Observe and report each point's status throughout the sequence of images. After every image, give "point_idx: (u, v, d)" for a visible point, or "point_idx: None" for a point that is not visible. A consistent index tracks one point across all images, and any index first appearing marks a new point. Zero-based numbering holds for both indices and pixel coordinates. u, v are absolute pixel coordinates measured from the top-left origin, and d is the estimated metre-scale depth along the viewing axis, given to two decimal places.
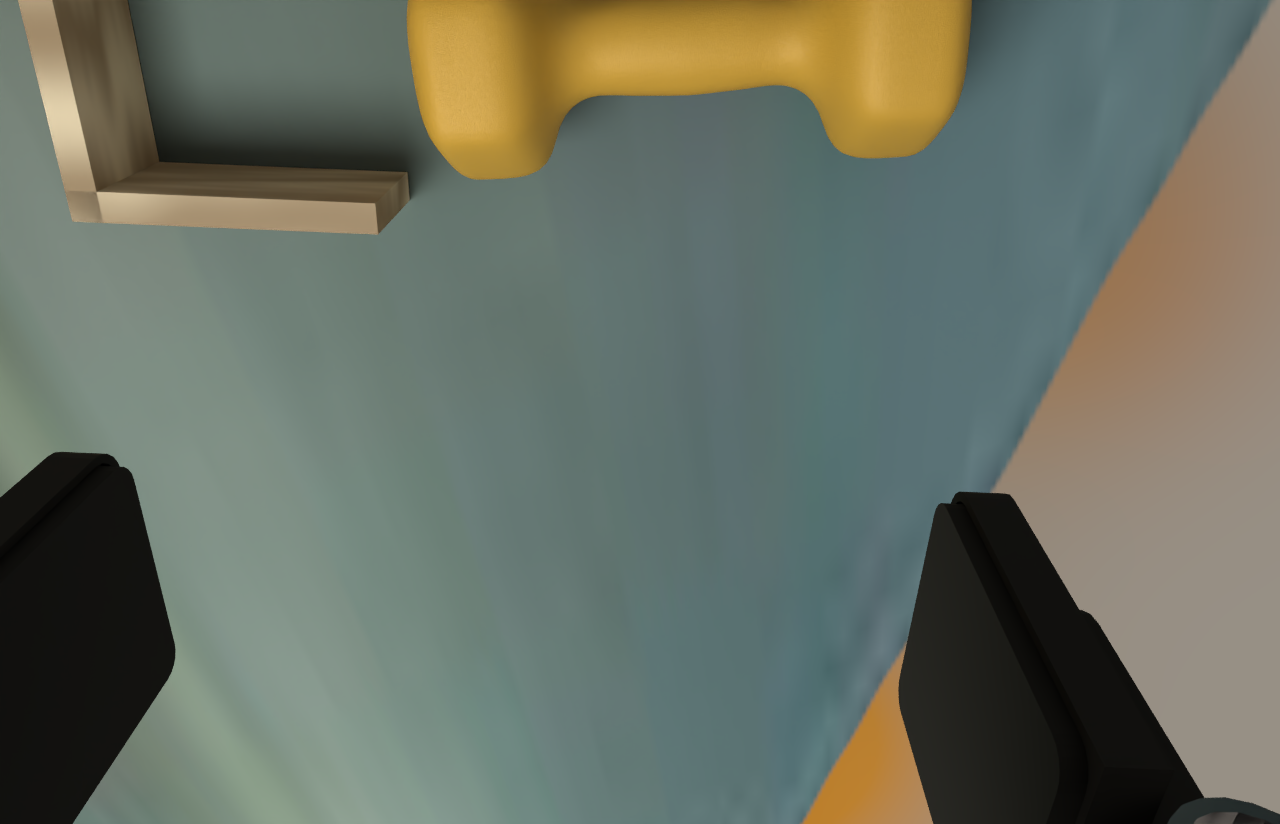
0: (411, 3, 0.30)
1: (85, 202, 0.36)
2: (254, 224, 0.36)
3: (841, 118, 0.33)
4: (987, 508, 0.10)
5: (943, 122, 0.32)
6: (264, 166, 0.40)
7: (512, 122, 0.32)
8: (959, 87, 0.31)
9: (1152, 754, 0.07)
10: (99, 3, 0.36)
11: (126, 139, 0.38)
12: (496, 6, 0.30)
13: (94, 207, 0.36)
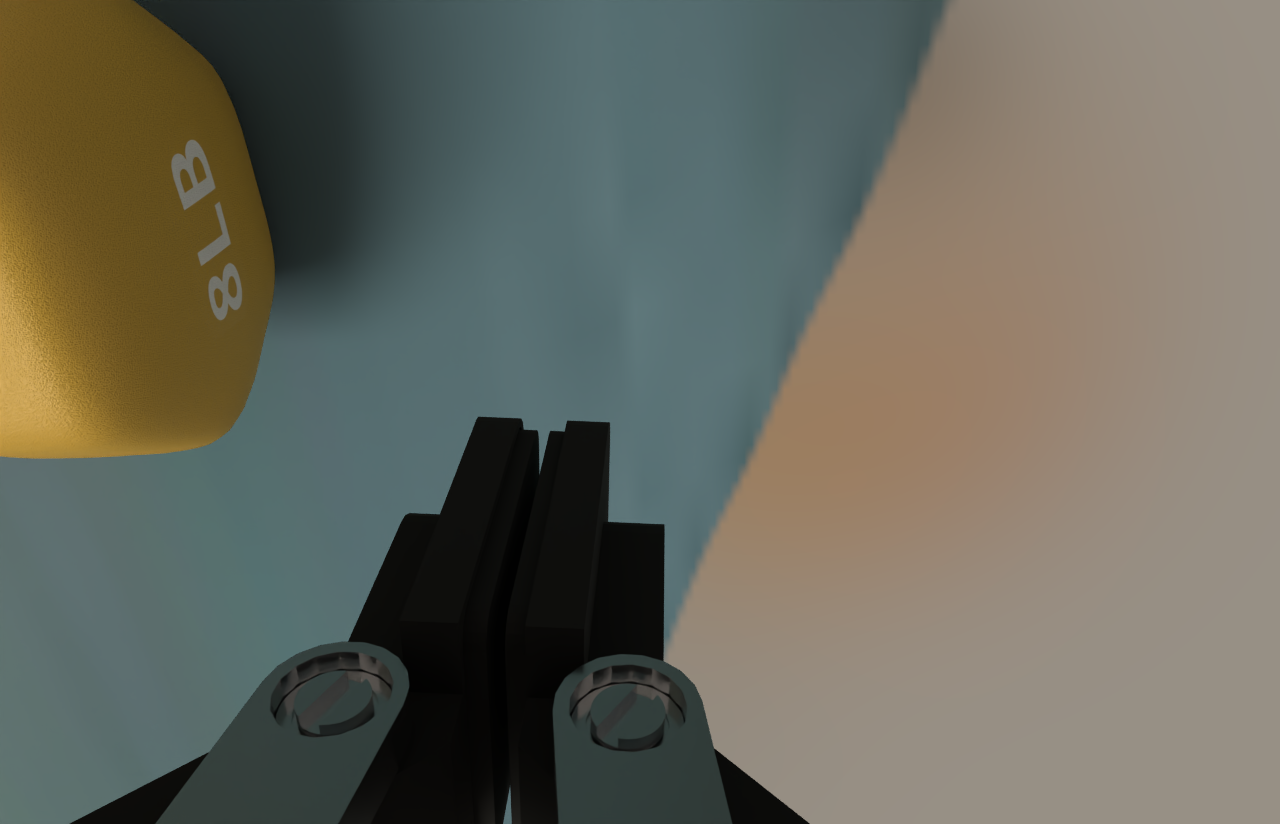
0: None
1: None
2: None
3: None
4: (578, 433, 0.11)
5: (121, 443, 0.16)
6: None
7: None
8: (103, 390, 0.15)
9: (575, 616, 0.08)
10: None
11: None
12: None
13: None
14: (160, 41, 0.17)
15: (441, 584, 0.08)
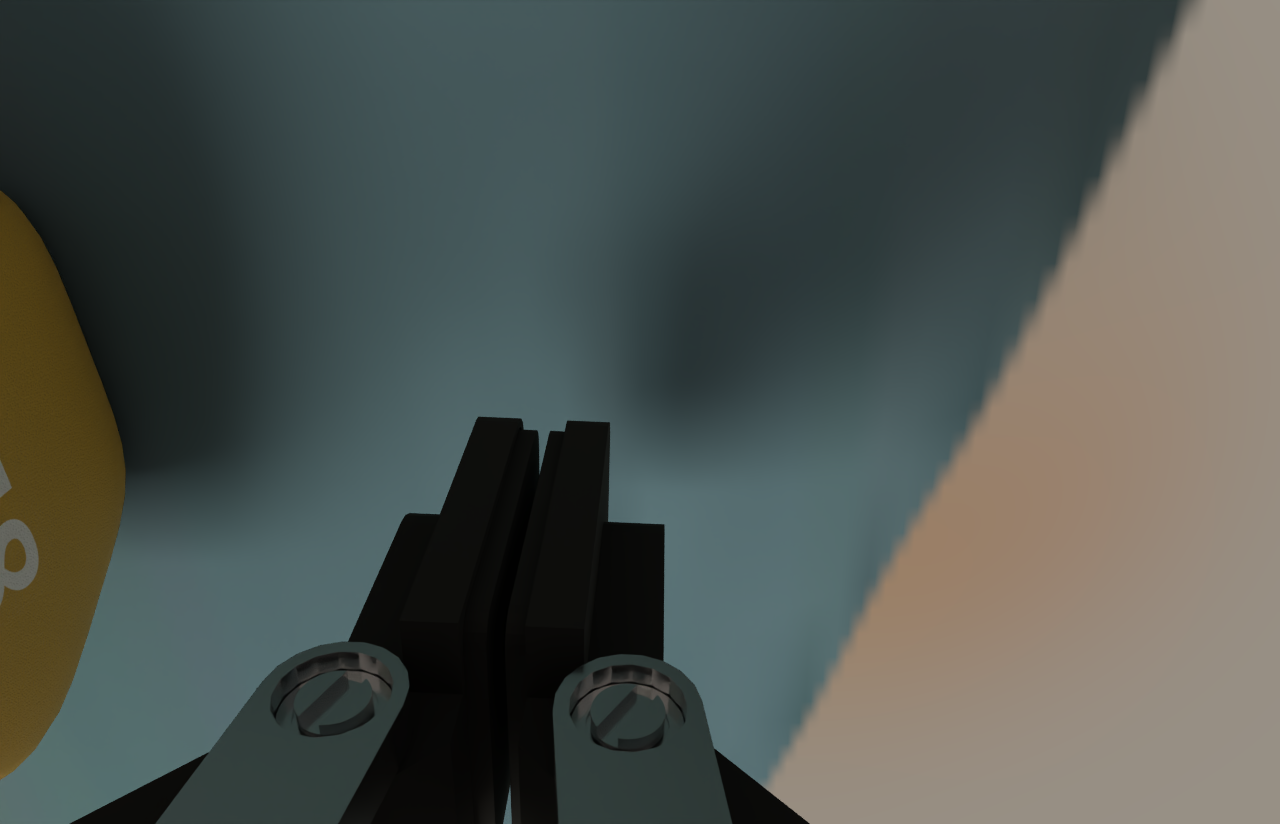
0: None
1: None
2: None
3: None
4: (578, 433, 0.11)
5: None
6: None
7: None
8: None
9: (574, 617, 0.08)
10: None
11: None
12: None
13: None
14: None
15: (441, 584, 0.08)
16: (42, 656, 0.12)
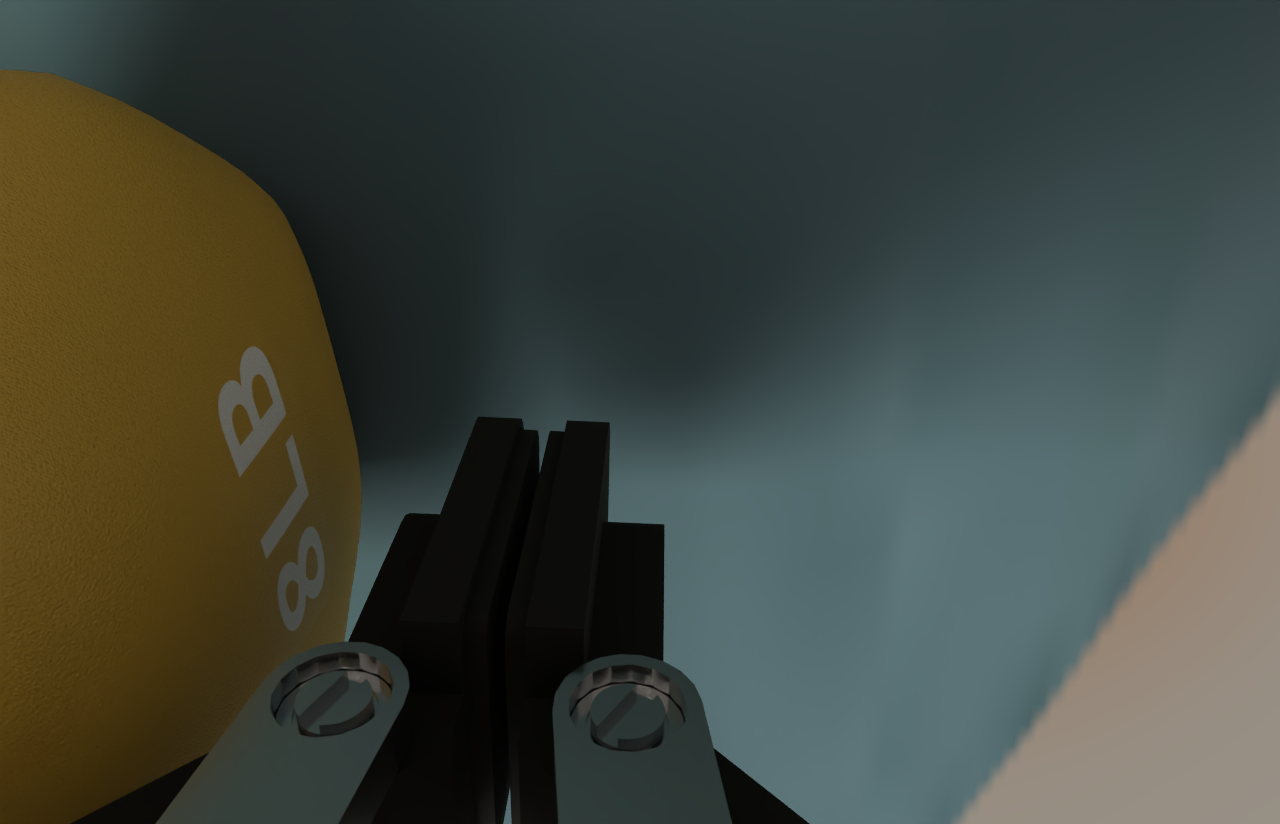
0: None
1: None
2: None
3: None
4: (578, 432, 0.11)
5: None
6: None
7: None
8: None
9: (574, 616, 0.08)
10: None
11: None
12: None
13: None
14: (196, 186, 0.10)
15: (441, 584, 0.08)
16: None
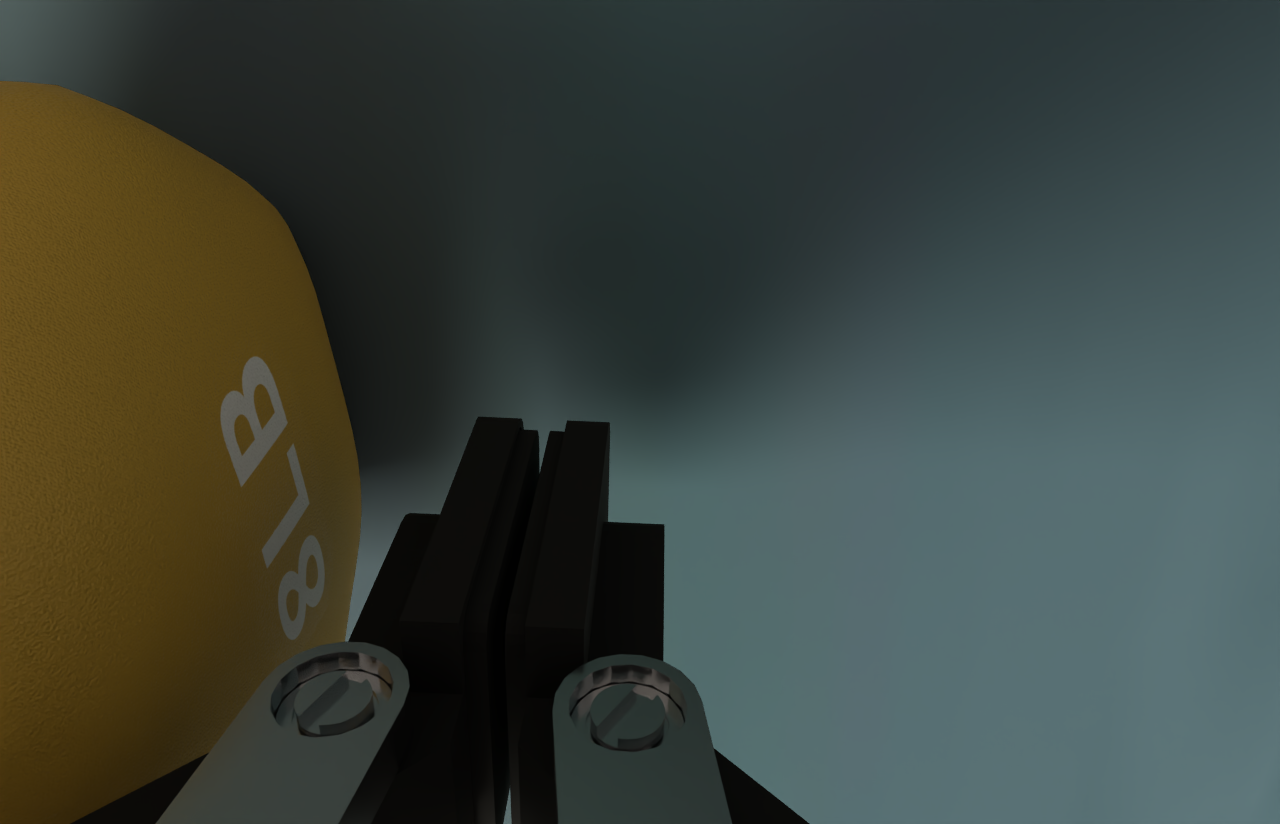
0: None
1: None
2: None
3: None
4: (577, 433, 0.11)
5: None
6: None
7: None
8: None
9: (574, 617, 0.08)
10: None
11: None
12: None
13: None
14: (201, 197, 0.10)
15: (441, 584, 0.08)
16: None
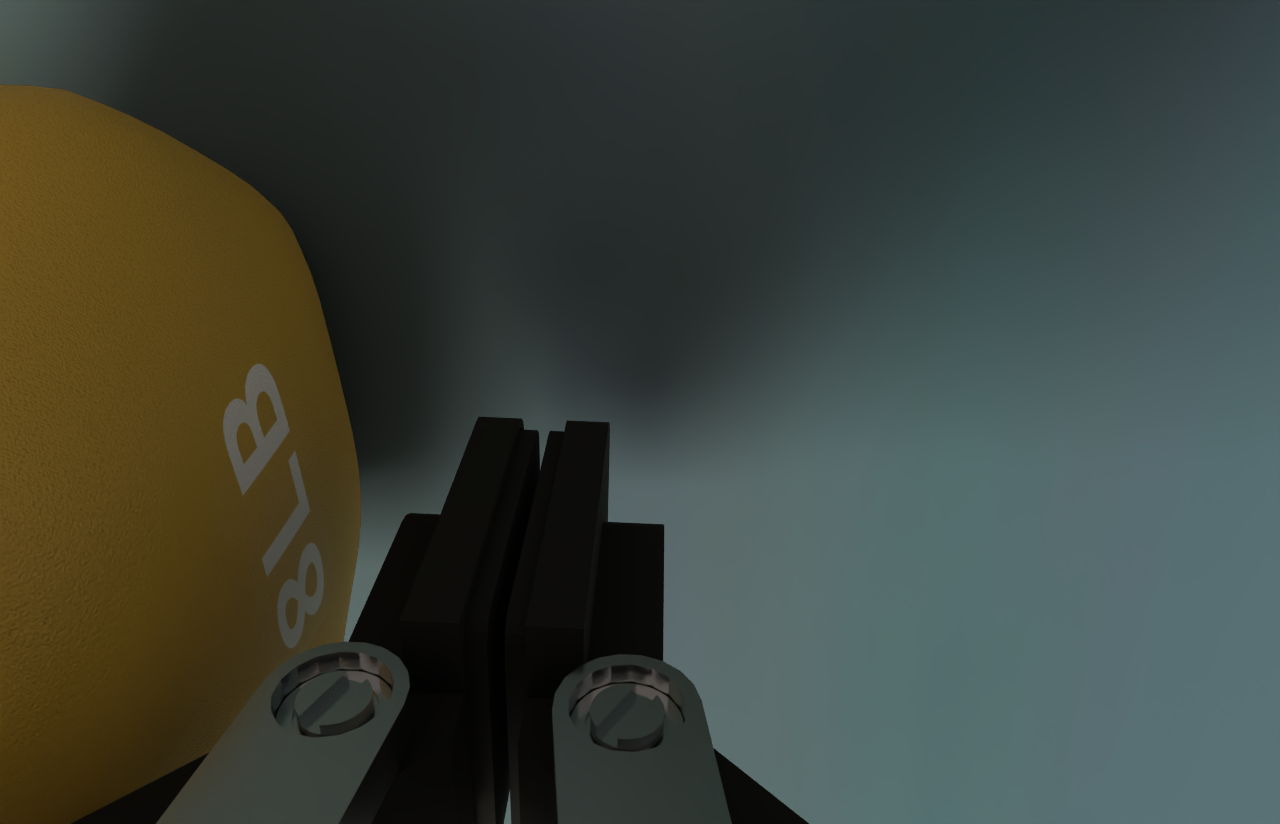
0: None
1: None
2: None
3: None
4: (577, 433, 0.11)
5: None
6: None
7: None
8: None
9: (574, 616, 0.08)
10: None
11: None
12: None
13: None
14: (206, 202, 0.10)
15: (441, 585, 0.08)
16: None
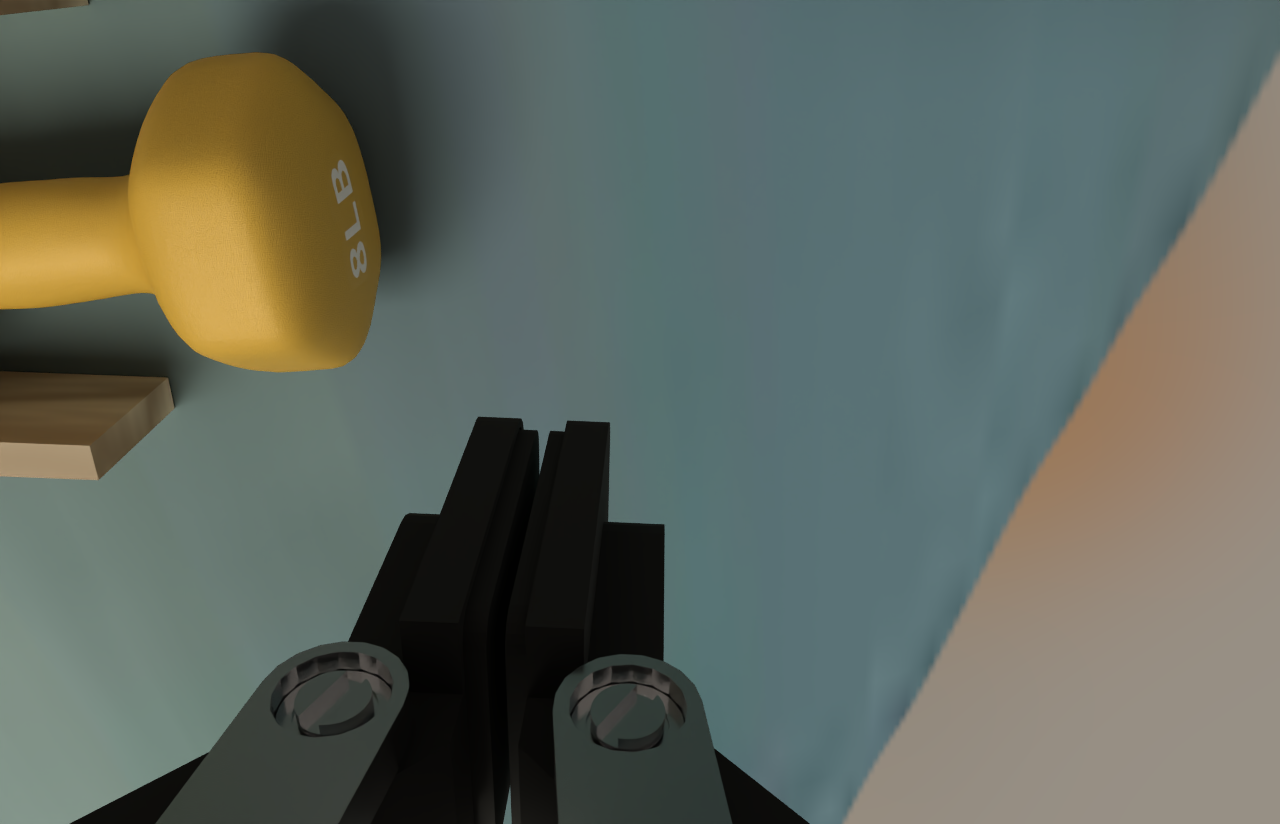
0: None
1: None
2: None
3: None
4: (578, 432, 0.11)
5: (302, 350, 0.25)
6: None
7: None
8: (297, 312, 0.24)
9: (575, 617, 0.08)
10: None
11: None
12: None
13: None
14: (321, 98, 0.26)
15: (441, 584, 0.08)
16: (366, 307, 0.28)
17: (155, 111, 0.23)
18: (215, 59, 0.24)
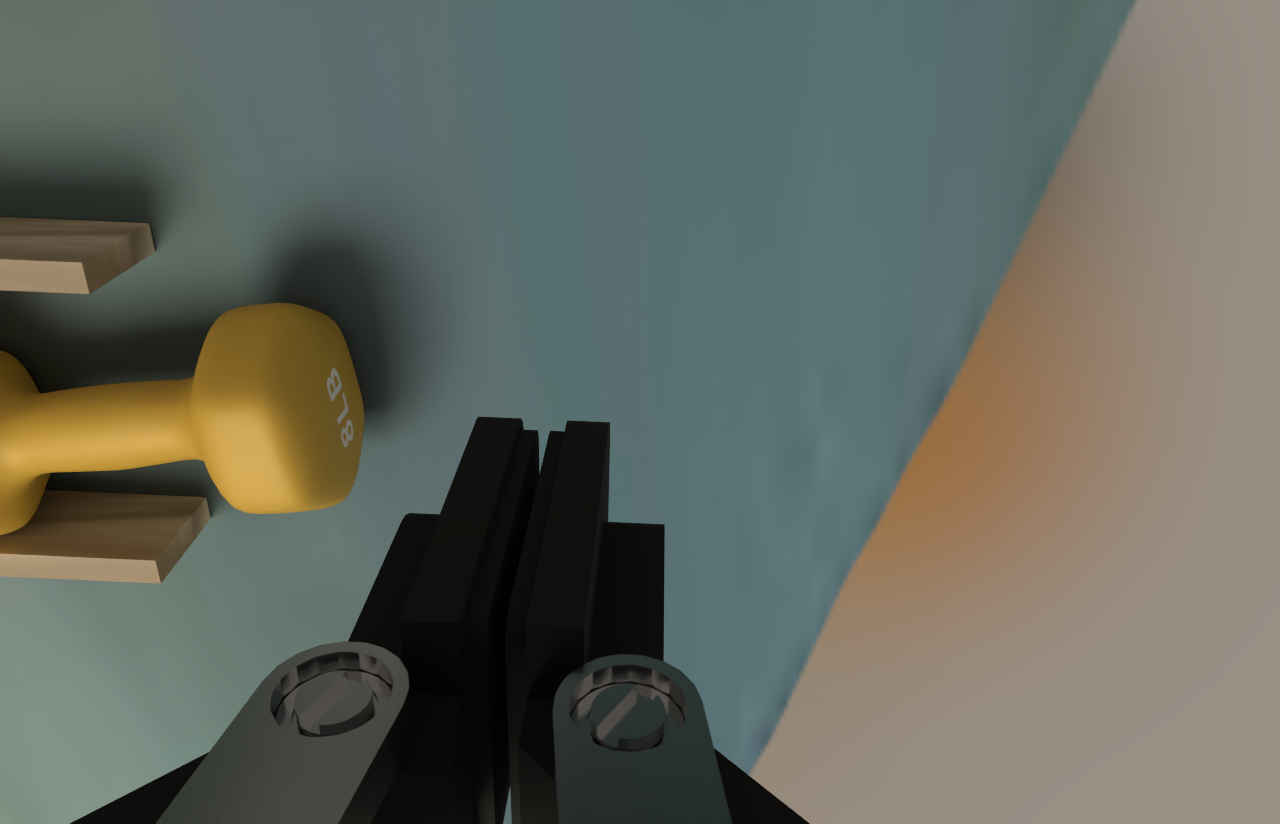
0: None
1: None
2: (50, 574, 0.41)
3: None
4: (578, 433, 0.11)
5: (309, 506, 0.36)
6: (77, 492, 0.45)
7: None
8: (305, 485, 0.35)
9: (574, 616, 0.08)
10: None
11: None
12: None
13: None
14: (318, 326, 0.37)
15: (441, 584, 0.08)
16: (353, 462, 0.39)
17: (207, 354, 0.35)
18: (245, 311, 0.36)
